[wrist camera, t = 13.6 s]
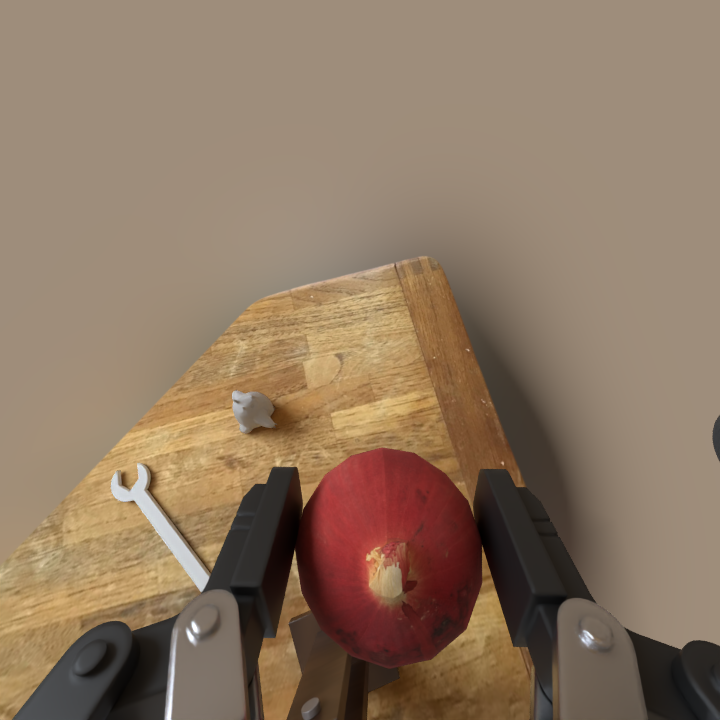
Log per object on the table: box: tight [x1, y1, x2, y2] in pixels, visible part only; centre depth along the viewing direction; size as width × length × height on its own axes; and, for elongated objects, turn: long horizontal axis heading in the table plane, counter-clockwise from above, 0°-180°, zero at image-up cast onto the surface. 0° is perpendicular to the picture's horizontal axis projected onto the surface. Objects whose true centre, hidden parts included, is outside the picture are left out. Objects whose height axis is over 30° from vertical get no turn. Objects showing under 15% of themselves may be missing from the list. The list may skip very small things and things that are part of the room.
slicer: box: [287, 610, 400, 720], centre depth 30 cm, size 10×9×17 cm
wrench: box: [111, 463, 211, 592], centre depth 41 cm, size 25×1×5 cm
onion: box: [295, 448, 482, 669], centre depth 10 cm, size 6×6×8 cm
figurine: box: [232, 390, 277, 434], centre depth 42 cm, size 8×6×8 cm
